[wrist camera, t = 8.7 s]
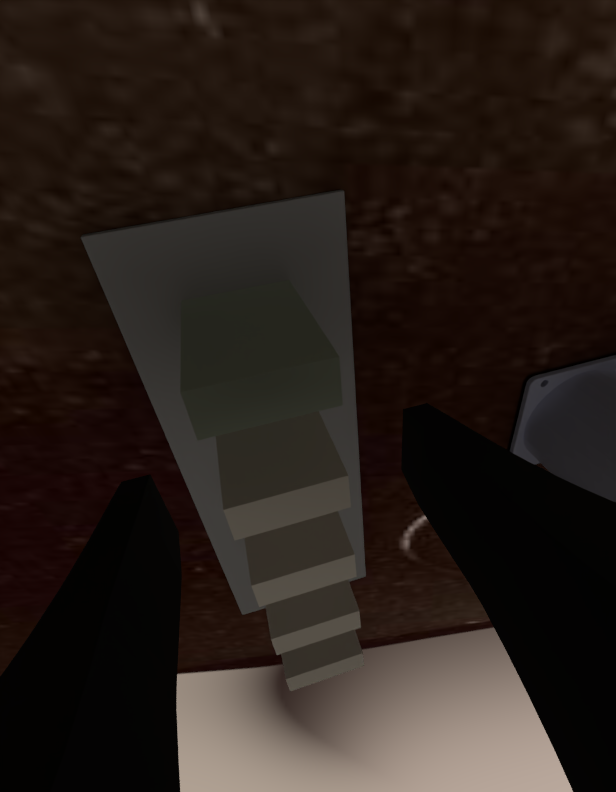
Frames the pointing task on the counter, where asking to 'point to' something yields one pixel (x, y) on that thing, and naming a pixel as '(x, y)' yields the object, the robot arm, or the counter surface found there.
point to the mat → (217, 273)
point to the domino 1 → (254, 360)
